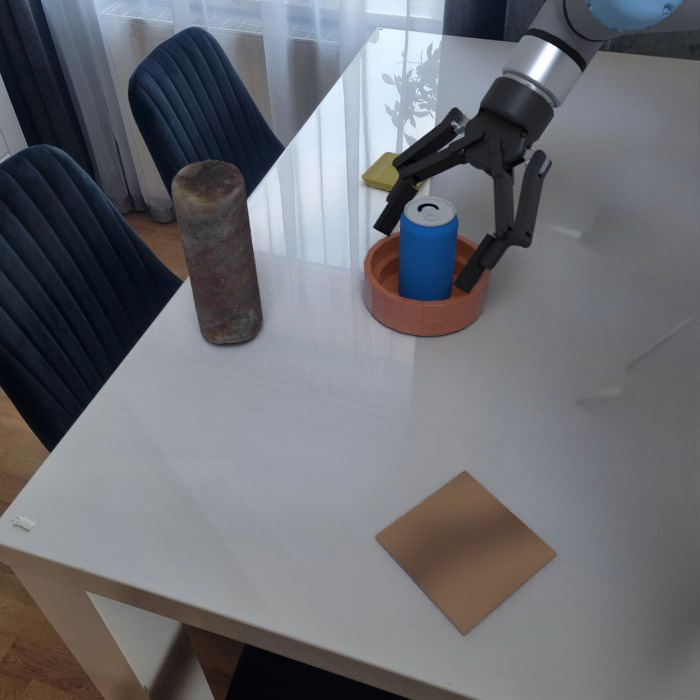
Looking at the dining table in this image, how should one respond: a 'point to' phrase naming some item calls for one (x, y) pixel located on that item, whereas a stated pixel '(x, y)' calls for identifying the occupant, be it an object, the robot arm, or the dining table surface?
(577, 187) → the dining table surface
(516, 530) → the cork mat
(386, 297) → the bowl
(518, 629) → the dining table surface
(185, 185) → the stone cylinder
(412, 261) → the beverage can
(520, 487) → the dining table surface
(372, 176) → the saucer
